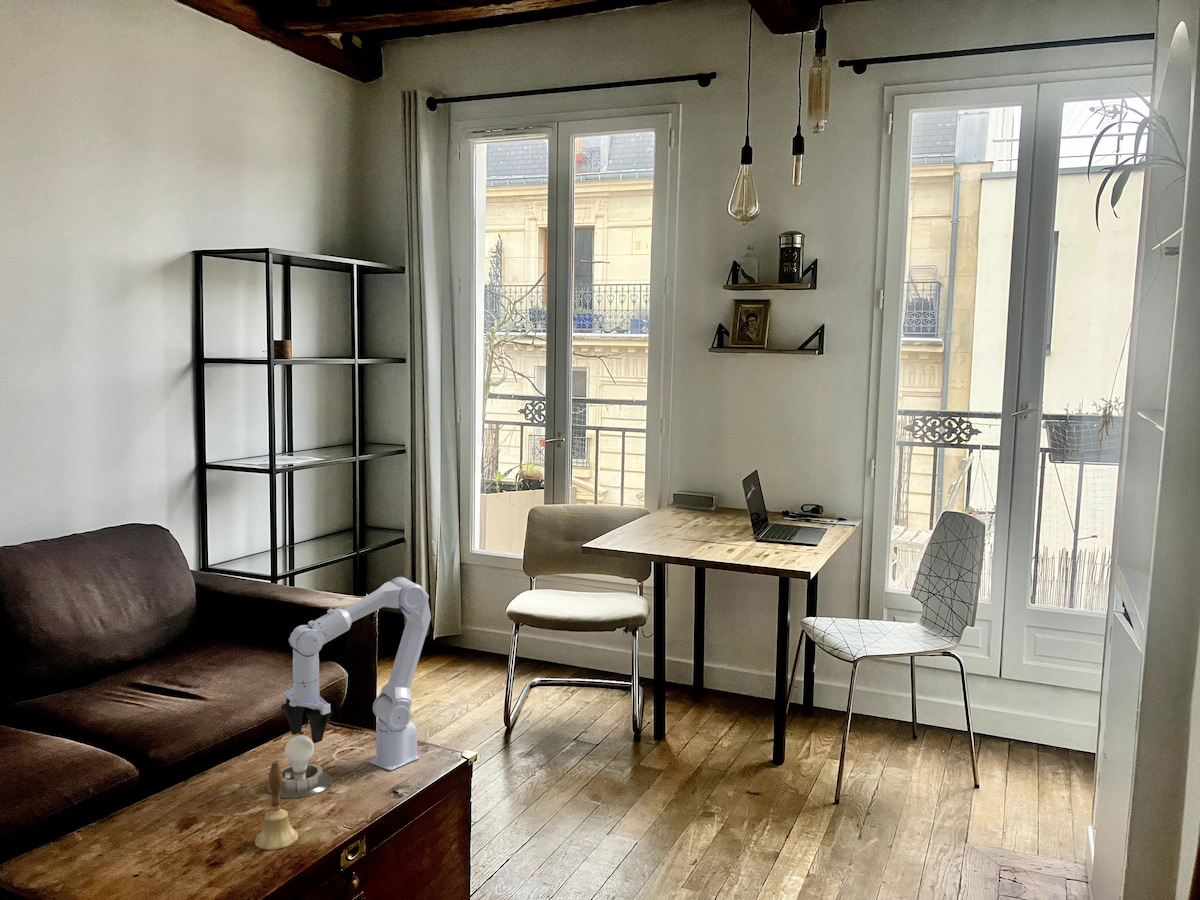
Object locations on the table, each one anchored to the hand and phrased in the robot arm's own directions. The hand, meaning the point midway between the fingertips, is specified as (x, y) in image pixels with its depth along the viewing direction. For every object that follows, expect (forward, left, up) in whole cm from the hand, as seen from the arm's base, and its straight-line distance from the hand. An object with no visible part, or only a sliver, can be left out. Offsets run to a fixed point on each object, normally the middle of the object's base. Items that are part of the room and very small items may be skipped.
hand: (306, 737), depth 213 cm
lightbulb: (+2, 0, -10) cm, 10 cm away
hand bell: (+20, +17, -11) cm, 28 cm away
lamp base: (+2, 0, -10) cm, 10 cm away
